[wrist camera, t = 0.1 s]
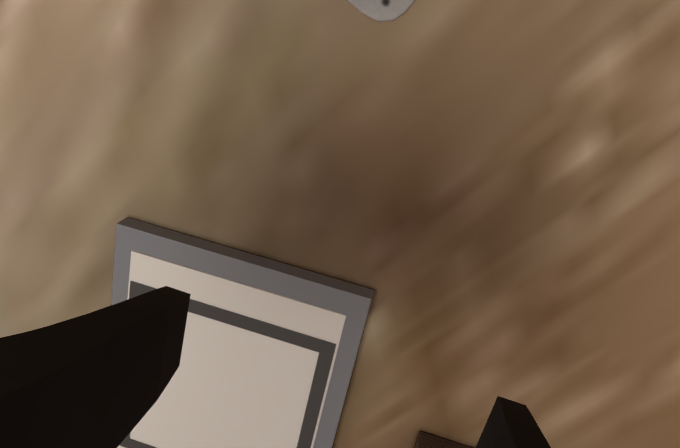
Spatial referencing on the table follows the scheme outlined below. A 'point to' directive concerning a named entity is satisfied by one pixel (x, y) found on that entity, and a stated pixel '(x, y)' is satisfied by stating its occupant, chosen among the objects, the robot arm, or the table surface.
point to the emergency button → (382, 8)
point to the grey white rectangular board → (243, 344)
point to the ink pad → (435, 442)
